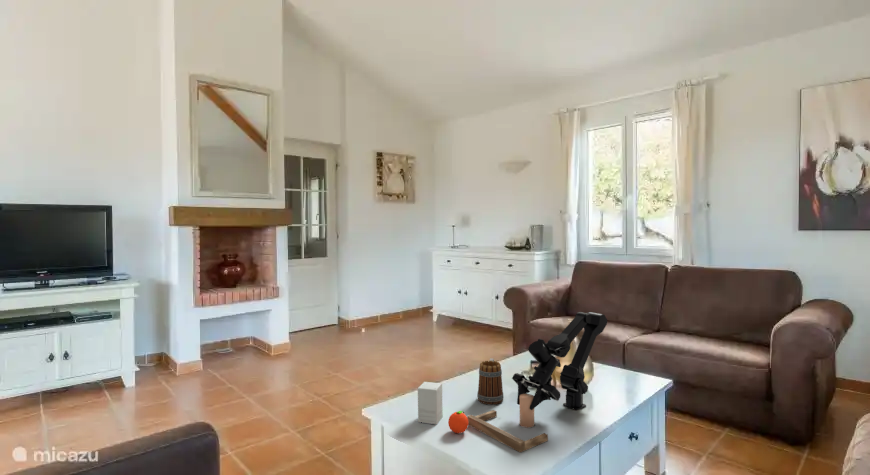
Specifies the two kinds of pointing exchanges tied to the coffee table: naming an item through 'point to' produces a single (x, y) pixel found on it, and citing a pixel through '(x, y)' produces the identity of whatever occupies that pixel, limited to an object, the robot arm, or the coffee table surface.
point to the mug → (490, 383)
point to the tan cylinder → (526, 410)
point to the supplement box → (430, 403)
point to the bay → (503, 432)
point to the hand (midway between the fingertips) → (524, 406)
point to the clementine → (458, 422)
